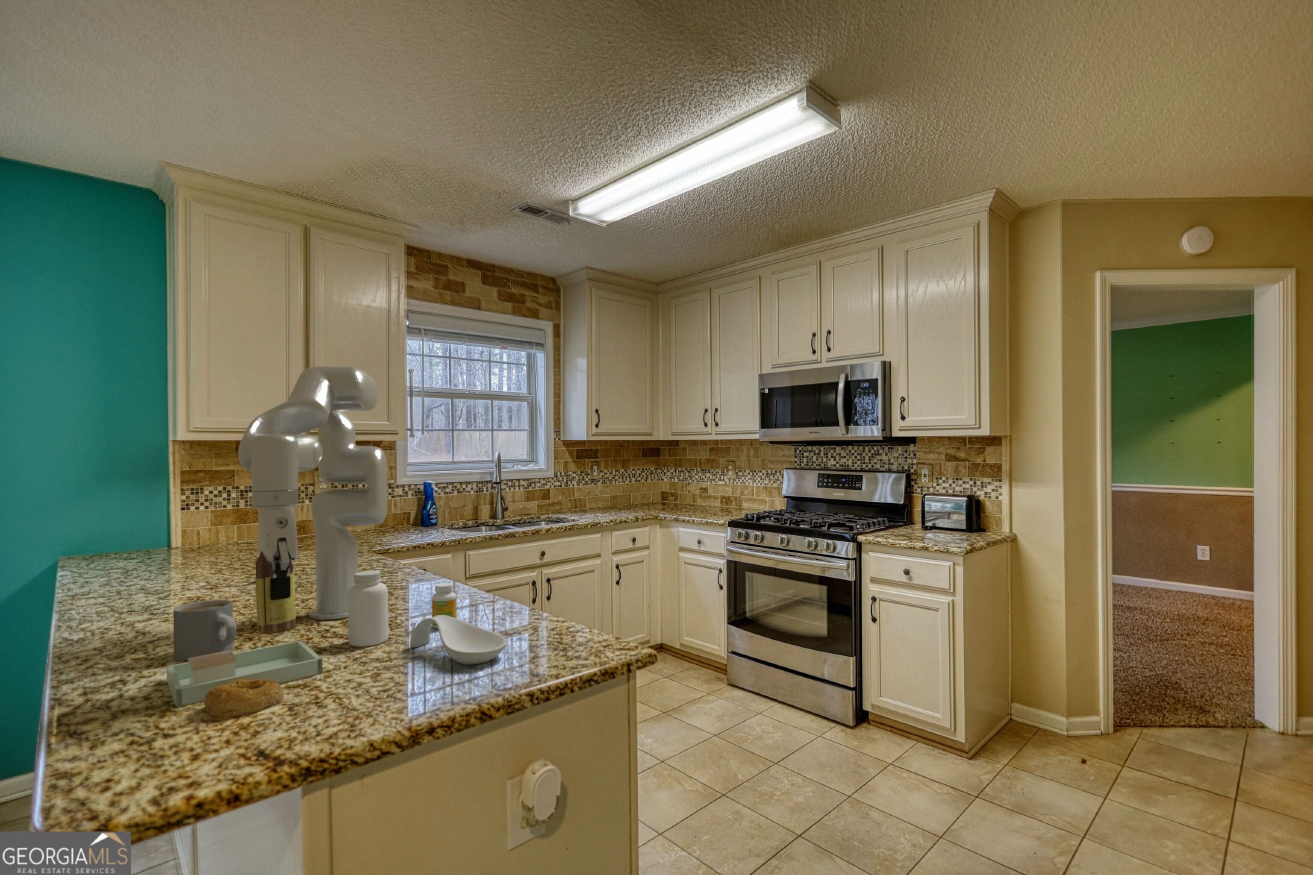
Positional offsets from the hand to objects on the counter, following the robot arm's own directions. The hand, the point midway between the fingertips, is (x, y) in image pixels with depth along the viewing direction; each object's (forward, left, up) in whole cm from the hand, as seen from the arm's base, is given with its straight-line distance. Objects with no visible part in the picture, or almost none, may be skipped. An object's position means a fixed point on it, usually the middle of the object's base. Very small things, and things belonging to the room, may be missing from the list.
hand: (276, 594), depth 120 cm
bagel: (+7, +15, -15) cm, 22 cm away
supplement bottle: (-36, -8, -15) cm, 40 cm away
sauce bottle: (0, 0, -7) cm, 7 cm away
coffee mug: (+8, -22, -15) cm, 28 cm away
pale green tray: (+5, 0, -15) cm, 15 cm away
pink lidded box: (+10, 0, -14) cm, 17 cm away
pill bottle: (-19, -8, -15) cm, 25 cm away
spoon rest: (-29, +13, -15) cm, 35 cm away
